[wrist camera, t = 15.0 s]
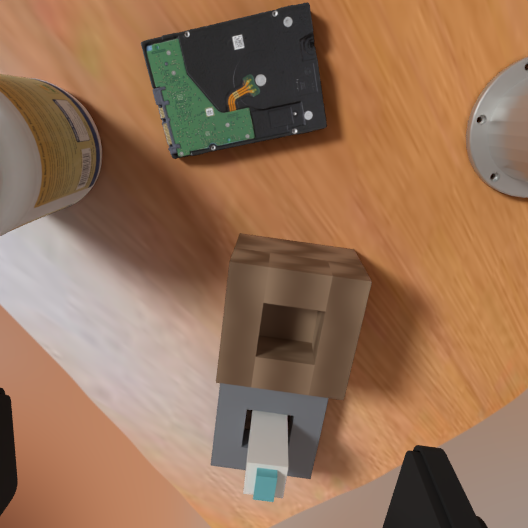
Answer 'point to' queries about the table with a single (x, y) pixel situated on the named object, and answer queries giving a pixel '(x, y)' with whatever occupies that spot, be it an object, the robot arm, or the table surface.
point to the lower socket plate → (297, 405)
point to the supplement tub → (43, 150)
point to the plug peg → (267, 456)
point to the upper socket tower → (292, 316)
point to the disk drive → (237, 81)
